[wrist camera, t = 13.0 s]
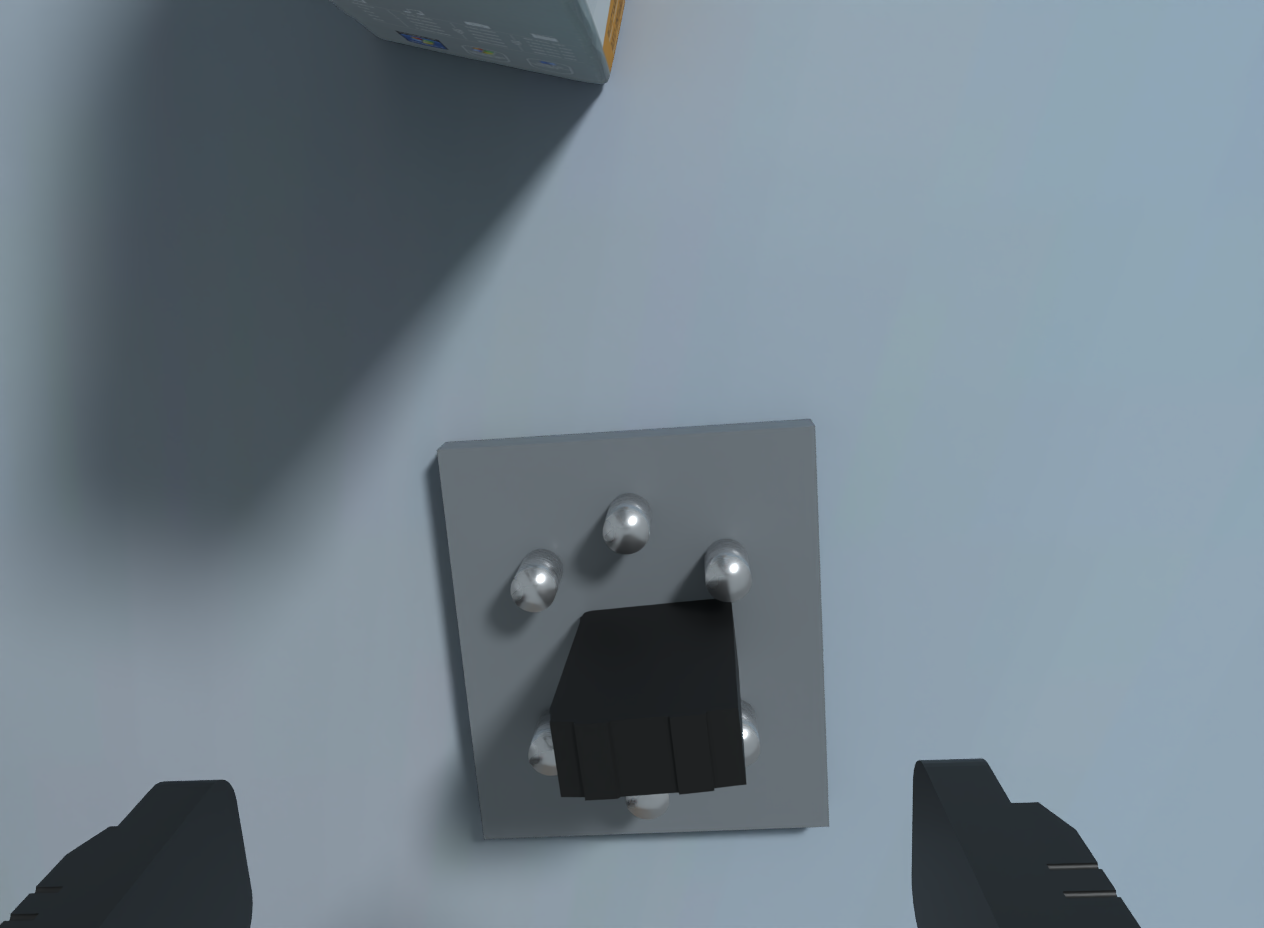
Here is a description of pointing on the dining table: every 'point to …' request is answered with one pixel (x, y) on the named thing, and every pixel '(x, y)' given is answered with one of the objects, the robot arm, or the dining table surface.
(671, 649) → the ink cartridge
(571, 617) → the pin tray
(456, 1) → the hard drive box
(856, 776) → the dining table surface
